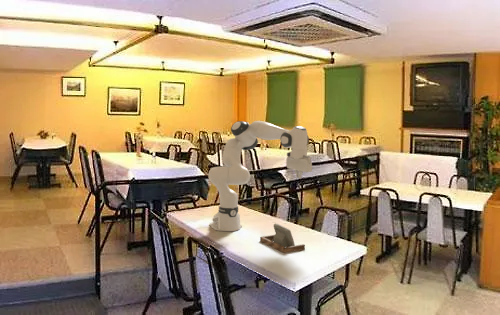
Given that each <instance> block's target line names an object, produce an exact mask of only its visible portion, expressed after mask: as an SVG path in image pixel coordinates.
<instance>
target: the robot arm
mask: <svg viewBox="0 0 500 315" xmlns="http://www.w3.org/2000/svg"><path fill="white" fill-rule="evenodd" d="M230 132H231V134H232V135H233V136H234V138H233V137H232V138H230V139H228V140H227V141H226V144H225V146H224V149H223V150H224V151H223V156H222V164H224V165H225V166H214V167H211V168H210V170H209V171H208V174H207V177H208V180H209V181H210V183H211V184H213V186H215V188H216V189H217V192H218V195H219V206H218V212H217V213H216V214H214V215H213V217H212V222H209V226H210V227H211V228H212V229H213V230H214V231H218V232H219V231H221V232H235V231H239V230H240V229H241V228H243V225H242V224H241V214H240V213H239V206H238V204H239V203H238V202H239V200H238V199H239V198H238V197H239V196H238V193H237V192H236V191H234V190H233V189H231V188H230V187H229V185H230V186H231V185H232V186H234V185H235V186H236V185H237V186H240V185H247V183H249V181H250V178H251V174H250V171H249V170H248V168H246V167H245V166H244V165H243V164H242V163H241V154H242V150H243V151H249V150H253V149H255V148H256V147H257V145H258V143H259V140H258V138H259V139H260V140H265V141H273V140H274V141H275V140H280V145H281V146H282V147H283V148H286V149H287V148H288V149H289V148H291V151H289V152H286V168H287V169H289V170H294V173H295V178H296V179H302V175H303V174H304V173H311V172H312V171H313V164H312V163H313V162H312V159H311V157H310V156H309V155H308V147H307V145H308V144H309V142H310V141H309V140H310V138H309V136H308V130H307V128H306V127H304V126H294V127H293V128H292V129H286V128H282V127H280V126H277V125H276V124H275V125H274V124H272V123H270V122H267V121H265V120H264V121H262V120H254V121H253V122H252V123H249V122H248V121H243V120H242V121H240V120H239V121H236V122H234V123H233V124H232V125H231V127H230ZM303 172H304V173H303Z"/></svg>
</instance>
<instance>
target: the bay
mask: <svg viewBox="0 0 500 315" xmlns="http://www.w3.org/2000/svg"><path fill="white" fill-rule="evenodd" d="M274 235H275V234H271V235H270V234H269V235H264V236H259V238H260V242H261V243H263V244H265V245H266V246H269V247H272V248H273V249H276V250H278V251H280V252H282V253H283V254H286V253H293V252H297V251H302V250H303V251H304V250H305V249H306V245H305V243H301V244H298V245H297V244H295V246H290V247H283V246H281V245H279V244H277V243H275V242H274Z"/></svg>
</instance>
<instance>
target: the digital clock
mask: <svg viewBox="0 0 500 315" xmlns="http://www.w3.org/2000/svg"><path fill="white" fill-rule="evenodd" d="M273 229H274V232H275V234H273V235H274V240H273V242H275V243H277V244H279V245H281V246H283V247H290V246H295V245H296V244H295V241H294V238H293V234H292V231H291V229H289V228H288V227H285V226H283V225H281V224H279V223H274V224H273Z"/></svg>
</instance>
